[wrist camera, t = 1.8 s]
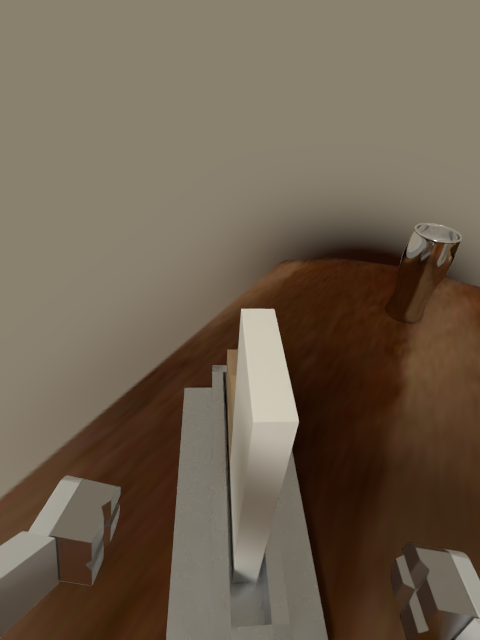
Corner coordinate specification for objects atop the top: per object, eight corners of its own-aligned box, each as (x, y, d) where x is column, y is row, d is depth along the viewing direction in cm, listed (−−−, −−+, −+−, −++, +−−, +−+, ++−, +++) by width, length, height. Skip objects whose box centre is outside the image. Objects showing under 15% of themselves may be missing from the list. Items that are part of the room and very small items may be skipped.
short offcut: (241, 396, 44) (245, 349, 39) (244, 432, 40) (249, 385, 35) (225, 397, 44) (227, 349, 39) (226, 432, 40) (229, 385, 35)
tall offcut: (244, 436, 40) (251, 375, 33) (248, 480, 36) (256, 420, 30) (226, 436, 40) (230, 375, 33) (228, 481, 36) (232, 421, 29)
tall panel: (248, 485, 36) (274, 309, 22) (256, 581, 29) (299, 421, 16) (228, 485, 35) (241, 308, 22) (232, 583, 29) (253, 422, 15)
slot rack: (278, 394, 47) (284, 364, 43) (326, 654, 27) (343, 639, 24) (185, 395, 46) (183, 365, 42) (166, 666, 26) (159, 652, 23)
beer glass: (374, 309, 62) (404, 228, 53) (396, 296, 66) (428, 218, 56) (410, 331, 58) (450, 247, 49) (432, 315, 62) (472, 235, 52)
